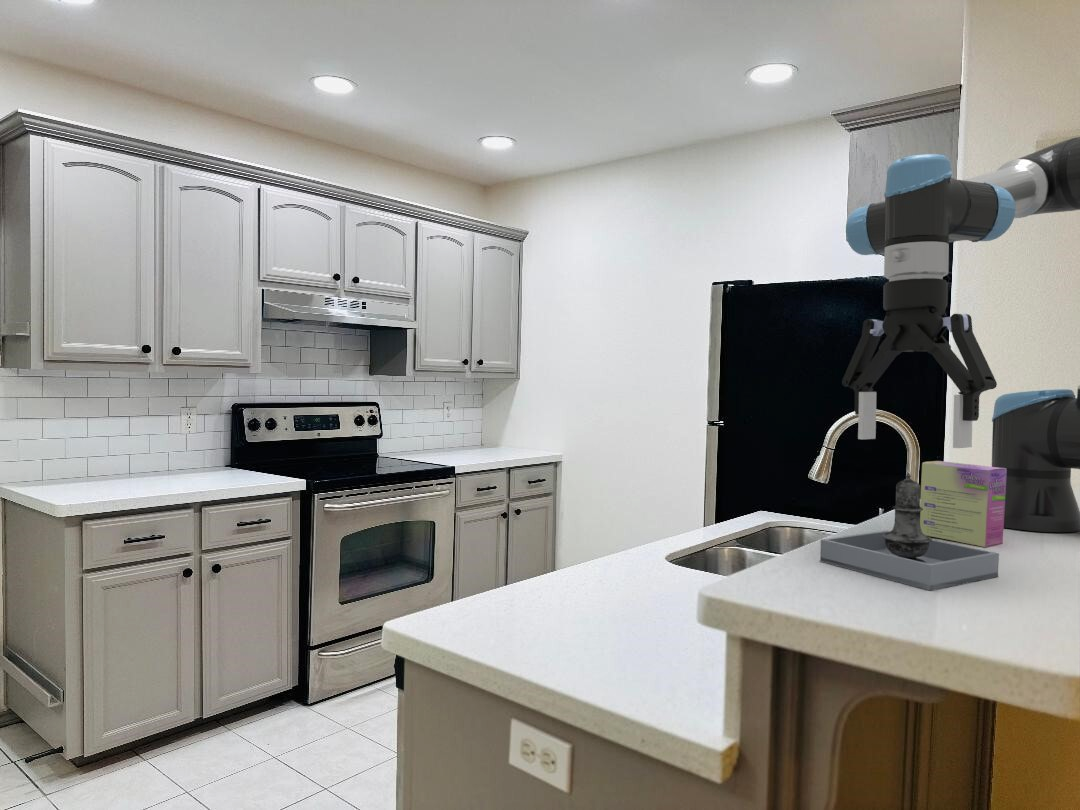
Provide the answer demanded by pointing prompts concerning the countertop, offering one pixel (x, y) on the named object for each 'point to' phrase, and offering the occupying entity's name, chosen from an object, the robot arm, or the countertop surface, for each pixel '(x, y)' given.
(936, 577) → the tray
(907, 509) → the salt shaker
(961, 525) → the box
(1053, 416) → the robot arm
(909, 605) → the countertop surface
